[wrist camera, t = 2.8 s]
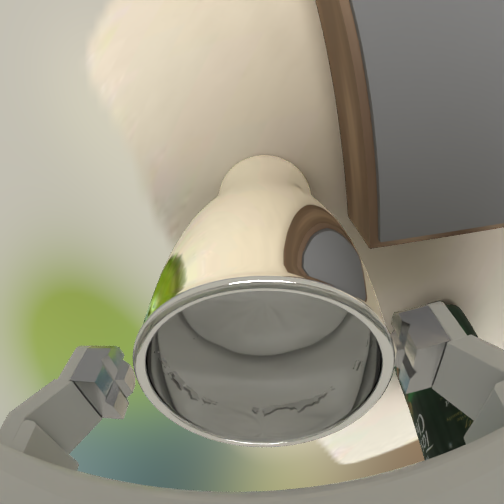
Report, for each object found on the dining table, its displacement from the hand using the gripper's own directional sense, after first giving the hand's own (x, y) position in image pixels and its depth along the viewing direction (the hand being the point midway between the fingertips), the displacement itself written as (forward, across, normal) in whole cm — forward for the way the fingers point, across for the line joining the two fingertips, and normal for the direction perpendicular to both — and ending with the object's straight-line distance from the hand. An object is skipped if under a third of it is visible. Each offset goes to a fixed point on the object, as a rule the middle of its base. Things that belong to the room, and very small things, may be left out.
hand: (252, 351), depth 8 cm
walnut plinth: (+13, -12, -6) cm, 19 cm away
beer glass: (+14, -1, 0) cm, 14 cm away
